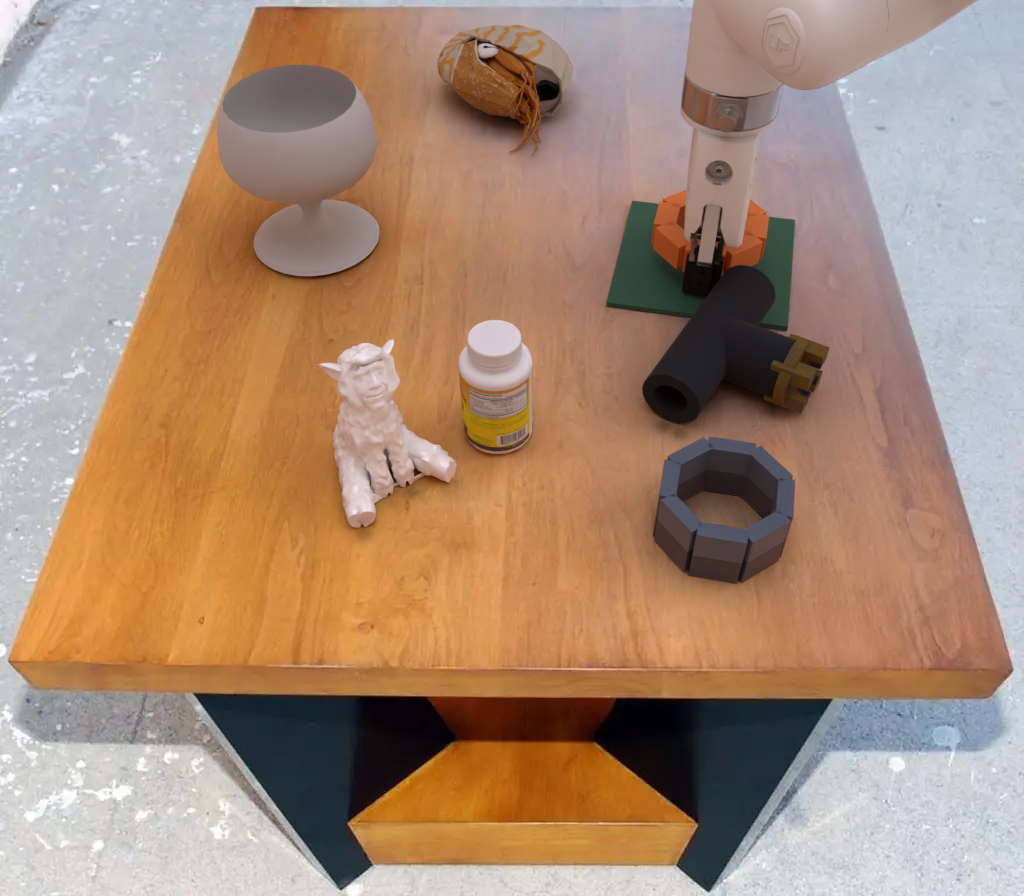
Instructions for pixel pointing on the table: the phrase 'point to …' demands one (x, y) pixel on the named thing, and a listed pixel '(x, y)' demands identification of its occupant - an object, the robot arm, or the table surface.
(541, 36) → the nautilus
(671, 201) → the orange ring
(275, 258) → the chalice
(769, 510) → the ring stack
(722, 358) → the pipe connector
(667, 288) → the green mat
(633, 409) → the table surface
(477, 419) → the supplement bottle
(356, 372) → the white creature statuette
